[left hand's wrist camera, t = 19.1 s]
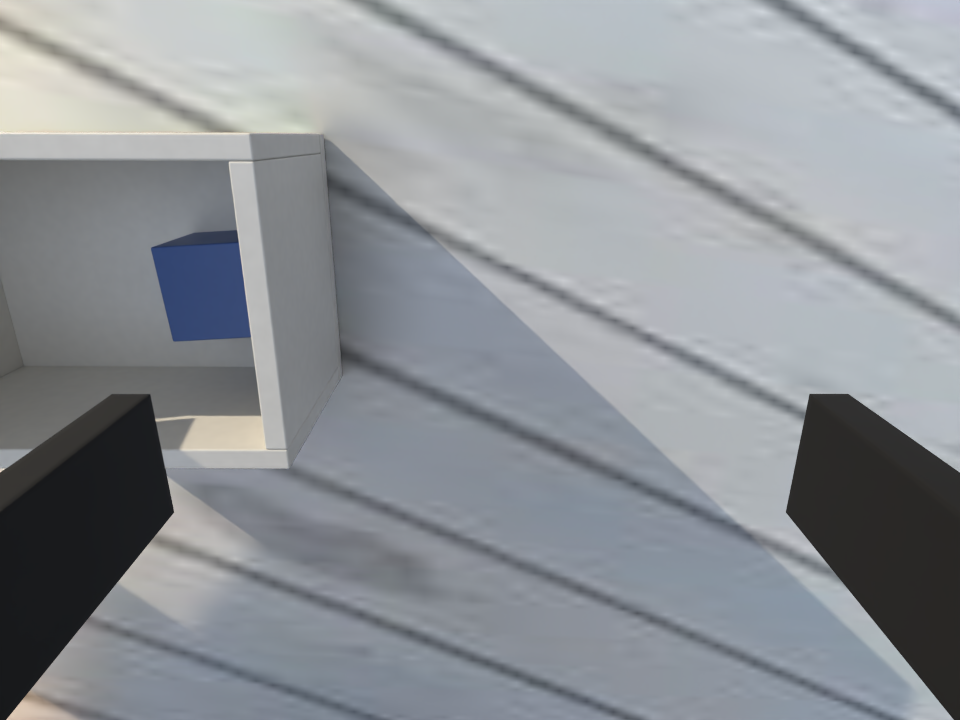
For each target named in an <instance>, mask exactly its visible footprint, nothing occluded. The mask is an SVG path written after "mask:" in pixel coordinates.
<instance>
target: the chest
mask: <svg viewBox="0 0 960 720" xmlns="http://www.w3.org/2000/svg"><path fill="white" fill-rule="evenodd" d="M230 230H237V232H238V240H239V247H240V255H241V263H242V270H243V278H244V286H245V293H246V301H247V309H248V317H249V324H250V332H251V337H249V338H231V339H214V340H196V341H178V342H174V341H173V339H172V335H171V331H170V326H169V322H168V318H167V314H166V310H165V306H164V302H163V297H162V293H161V289H160V285H159V281H158V277H157V272H156V268H155V264H154V260H153V256H152V252H151V247H154V246H157V245H159V244H162V243H165V242H168V241H171V240H174V239H177V238H180V237H183V236H186V235H189V234H192V233H197V232H213V231H230ZM341 377H342V364H341V351H340V338H339V326H338V313H337V300H336V287H335V275H334V262H333V249H332V236H331V224H330V211H329V198H328V185H327V173H326V160H325V147H324V135H323V134H308V133H173V132H0V468H8V467H9V466H10V465H12V464H13V463H15V462H16V461H18V460H19V459H20V458H22V457H23V456H25V455H26V454H28V453H29V452H30V451H32V450H33V449H35V448H36V447H37V446H39V445H40V444H42V443H43V442H45V441H46V440H47V439H49V438H50V437H52V436H53V435H54V434H56V433H57V432H59V431H60V430H62V429H63V428H64V427H66V426H67V425H69V424H70V423H71V422H73V421H74V420H76V419H77V418H79V417H80V416H81V415H83V414H84V413H86V412H87V411H89V410H90V409H91V408H93V407H94V406H96V405H97V404H98V403H100V402H101V401H103V400H104V399H106V398H107V397H108V396H110V395H111V394H150V395H151V400H152V405H153V410H154V415H155V420H156V425H157V430H158V435H159V440H160V445H161V450H162V455H163V460H164V465H165V469H289V468H290V467H291V465H292V463H293V462H294V460H295V458H296V456H297V455H298V453H299V451H300V449H301V448H302V446H303V444H304V442H305V441H306V439H307V437H308V435H309V433H310V432H311V430H312V428H313V426H314V425H315V423H316V421H317V419H318V418H319V416H320V414H321V412H322V411H323V409H324V407H325V405H326V404H327V402H328V400H329V398H330V397H331V395H332V393H333V391H334V389H335V388H336V386H337V384H338V382H339V381H340V379H341Z"/></svg>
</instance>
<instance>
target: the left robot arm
mask: <svg viewBox="0 0 960 720" xmlns="http://www.w3.org/2000/svg"><path fill="white" fill-rule="evenodd" d="M173 513H174V510H173V505H172V500H171V495H170V490H169V485H168V480H167V475H166V470H165V465H164V460H163V455H162V450H161V445H160V440H159V435H158V430H157V425H156V420H155V415H154V410H153V405H152V400H151V395H150V394H111V395H110V396H108V397H107V398H106V399H104V400H103V401H101V402H100V403H98V404H97V405H96V406H94V407H93V408H91V409H90V410H89V411H87V412H86V413H84V414H83V415H81V416H80V417H79V418H77V419H76V420H74V421H73V422H71V423H70V424H69V425H67V426H66V427H64V428H63V429H62V430H60V431H59V432H57V433H56V434H54V435H53V436H52V437H50V438H49V439H47V440H46V441H45V442H43V443H42V444H40V445H39V446H37V447H36V448H35V449H33V450H32V451H30V452H29V453H28V454H26V455H25V456H23V457H22V458H20V459H19V460H18V461H16V462H15V463H13V464H12V465H10V466H9V467H8V468H6V469H5V470H3V471H2V472H1V473H0V720H6V719H7V718H8V717H9V715H10V714H11V713H12V712H13V710H14V709H15V708H16V707H17V706H18V704H19V703H20V702H21V701H22V699H23V698H24V697H25V696H26V694H27V693H28V692H29V691H30V689H31V688H32V687H33V686H34V685H35V683H36V682H37V681H38V680H39V678H40V677H41V676H42V675H43V673H44V672H45V671H46V670H47V669H48V667H49V666H50V665H51V664H52V662H53V661H54V660H55V659H56V657H57V656H58V655H59V654H60V652H61V651H62V650H63V649H64V648H65V646H66V645H67V644H68V643H69V641H70V640H71V639H72V638H73V636H74V635H75V634H76V633H77V631H78V630H79V629H80V628H81V627H82V625H83V624H84V623H85V622H86V620H87V619H88V618H89V617H90V615H91V614H92V613H93V612H94V610H95V609H96V608H97V607H98V606H99V604H100V603H101V602H102V601H103V599H104V598H105V597H106V596H107V594H108V593H109V592H110V591H111V589H112V588H113V587H114V586H115V585H116V583H117V582H118V581H119V580H120V578H121V577H122V576H123V575H124V573H125V572H126V571H127V570H128V569H129V567H130V566H131V565H132V564H133V562H134V561H135V560H136V559H137V557H138V556H139V555H140V554H141V552H142V551H143V550H144V549H145V548H146V546H147V545H148V544H149V543H150V541H151V540H152V539H153V538H154V536H155V535H156V534H157V533H158V531H159V530H160V529H161V528H162V527H163V525H164V524H165V523H166V522H167V520H168V519H169V518H170V517H171V515H172V514H173ZM786 513H787V514H788V515H789V517H790V518H791V519H792V520H793V522H794V523H795V524H796V525H797V527H798V528H799V529H800V530H801V531H802V533H803V534H804V535H805V536H806V538H807V539H808V540H809V541H810V543H811V544H812V545H813V546H814V548H815V549H816V550H817V551H818V552H819V554H820V555H821V556H822V557H823V559H824V560H825V561H826V562H827V564H828V565H829V566H830V567H831V569H832V570H833V571H834V572H835V573H836V575H837V576H838V577H839V578H840V580H841V581H842V582H843V583H844V585H845V586H846V587H847V588H848V589H849V591H850V592H851V593H852V594H853V596H854V597H855V598H856V599H857V601H858V602H859V603H860V604H861V606H862V607H863V608H864V609H865V610H866V612H867V613H868V614H869V615H870V617H871V618H872V619H873V620H874V622H875V623H876V624H877V625H878V627H879V628H880V629H881V630H882V631H883V633H884V634H885V635H886V636H887V638H888V639H889V640H890V641H891V643H892V644H893V645H894V646H895V648H896V649H897V650H898V651H899V652H900V654H901V655H902V656H903V657H904V659H905V660H906V661H907V662H908V664H909V665H910V666H911V667H912V669H913V670H914V671H915V672H916V673H917V675H918V676H919V677H920V678H921V680H922V681H923V682H924V683H925V685H926V686H927V687H928V688H929V689H930V691H931V692H932V693H933V694H934V696H935V697H936V698H937V699H938V701H939V702H940V703H941V704H942V706H943V707H944V708H945V709H946V710H947V712H948V713H949V714H950V715H951V717H952V718H953V719H954V720H960V473H959V472H958V471H957V470H955V469H954V468H952V467H951V466H950V465H948V464H947V463H945V462H944V461H942V460H941V459H940V458H938V457H937V456H935V455H934V454H932V453H931V452H930V451H928V450H927V449H925V448H924V447H923V446H921V445H920V444H918V443H917V442H915V441H914V440H913V439H911V438H910V437H908V436H907V435H906V434H904V433H903V432H901V431H900V430H898V429H897V428H896V427H894V426H893V425H891V424H890V423H889V422H887V421H886V420H884V419H883V418H881V417H880V416H879V415H877V414H876V413H874V412H873V411H871V410H870V409H869V408H867V407H866V406H864V405H863V404H862V403H860V402H859V401H857V400H856V399H854V398H853V397H852V396H850V395H849V394H810V395H809V400H808V405H807V410H806V415H805V420H804V425H803V430H802V435H801V440H800V445H799V450H798V455H797V460H796V465H795V470H794V475H793V480H792V485H791V490H790V495H789V500H788V505H787V510H786Z"/></svg>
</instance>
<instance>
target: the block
mask: <svg viewBox="0 0 960 720" xmlns="http://www.w3.org/2000/svg"><path fill="white" fill-rule="evenodd" d="M151 252H152V256H153V260H154V264H155V268H156V272H157V277H158V281H159V285H160V289H161V293H162V297H163V302H164V306H165V310H166V314H167V318H168V322H169V326H170V331H171V335H172V339H173V341H174V342H178V341H196V340H214V339H231V338H249V337H251V332H250V324H249V317H248V309H247V301H246V293H245V286H244V278H243V270H242V263H241V255H240V247H239V240H238V232H237V230H230V231H213V232H197V233H192V234H189V235H186V236H183V237H180V238H177V239H174V240H171V241H168V242H165V243H162V244H159V245H157V246H154V247H151Z"/></svg>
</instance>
